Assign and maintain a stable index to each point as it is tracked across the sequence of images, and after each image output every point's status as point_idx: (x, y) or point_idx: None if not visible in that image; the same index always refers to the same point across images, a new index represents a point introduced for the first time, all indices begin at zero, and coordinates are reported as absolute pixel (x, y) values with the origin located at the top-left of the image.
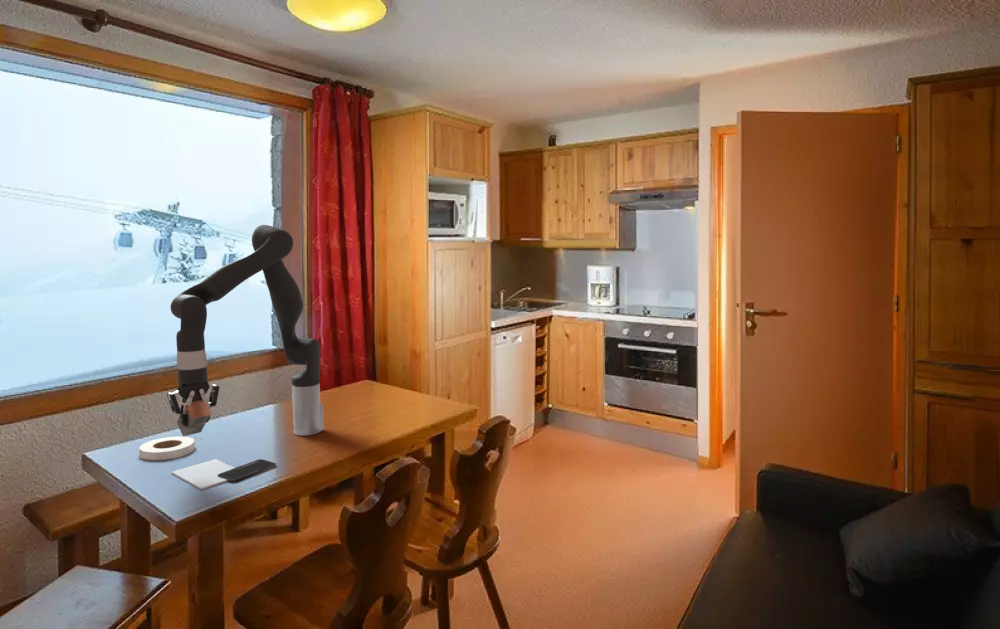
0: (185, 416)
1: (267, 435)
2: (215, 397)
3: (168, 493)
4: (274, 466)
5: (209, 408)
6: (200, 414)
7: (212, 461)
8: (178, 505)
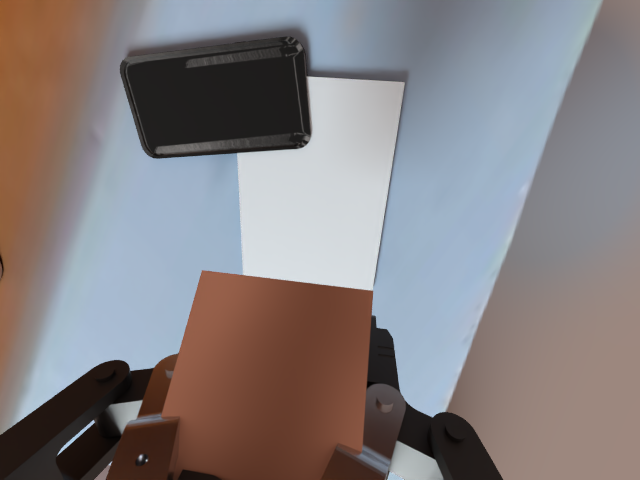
0: (378, 372)
1: (69, 317)
2: (30, 434)
3: (477, 153)
4: (133, 57)
5: (171, 358)
6: (295, 293)
7: (258, 266)
8: (542, 5)
